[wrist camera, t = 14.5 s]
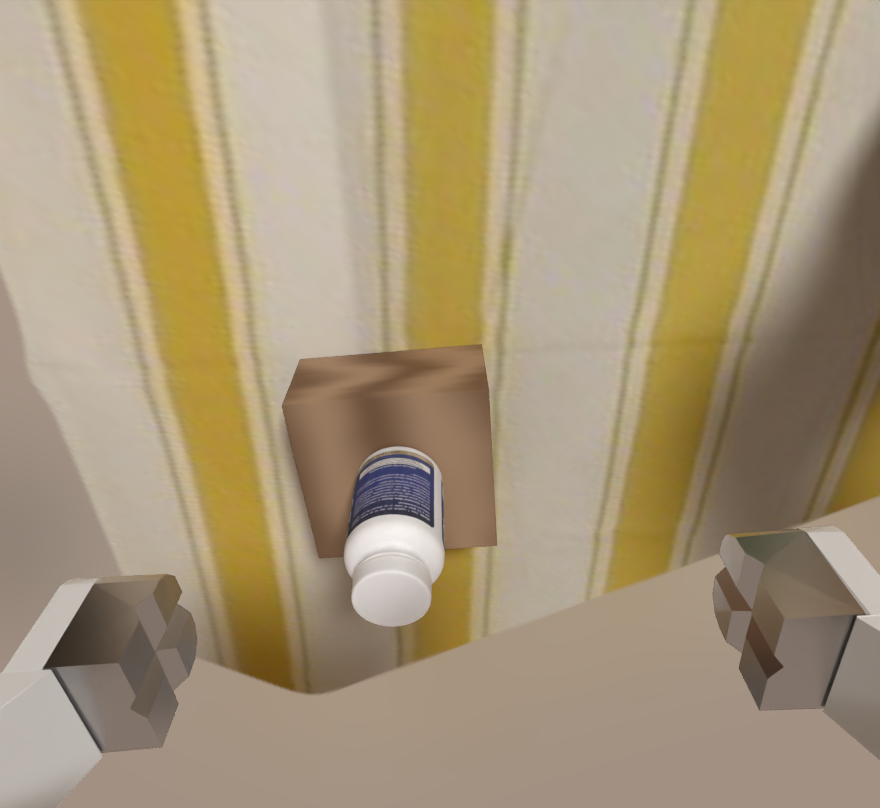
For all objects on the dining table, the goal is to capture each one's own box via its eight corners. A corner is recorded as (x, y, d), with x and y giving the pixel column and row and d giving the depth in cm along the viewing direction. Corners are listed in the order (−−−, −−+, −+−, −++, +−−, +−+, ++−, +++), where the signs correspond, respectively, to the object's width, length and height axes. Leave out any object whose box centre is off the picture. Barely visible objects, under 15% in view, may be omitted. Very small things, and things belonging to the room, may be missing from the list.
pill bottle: (339, 465, 39) (314, 585, 31) (415, 429, 38) (410, 544, 30) (384, 524, 42) (373, 650, 33) (457, 492, 41) (464, 615, 32)
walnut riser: (481, 344, 42) (488, 389, 37) (490, 489, 48) (497, 545, 43) (300, 359, 42) (281, 405, 37) (331, 501, 48) (319, 558, 43)
